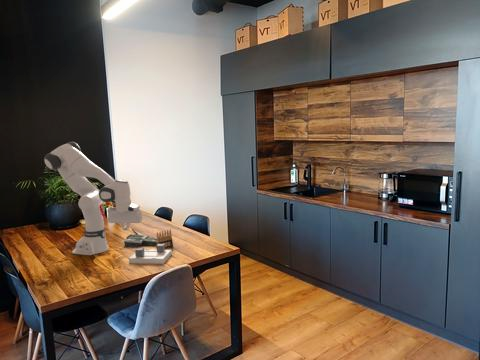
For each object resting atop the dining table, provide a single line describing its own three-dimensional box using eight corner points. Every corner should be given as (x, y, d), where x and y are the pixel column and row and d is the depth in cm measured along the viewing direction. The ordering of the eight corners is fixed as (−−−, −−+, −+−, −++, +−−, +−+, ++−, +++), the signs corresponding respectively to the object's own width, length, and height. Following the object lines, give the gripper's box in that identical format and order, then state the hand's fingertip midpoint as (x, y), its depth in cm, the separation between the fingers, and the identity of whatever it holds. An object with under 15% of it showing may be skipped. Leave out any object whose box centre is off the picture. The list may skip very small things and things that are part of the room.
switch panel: (129, 262, 219) (128, 257, 218) (139, 253, 233) (139, 249, 233) (163, 263, 215) (163, 258, 215) (172, 254, 230) (171, 249, 230)
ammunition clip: (157, 250, 238) (156, 232, 236) (156, 249, 240) (155, 231, 238) (173, 246, 244) (171, 229, 242) (172, 246, 246) (170, 228, 244)
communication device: (157, 248, 245) (156, 235, 243) (123, 246, 249) (122, 234, 247) (164, 241, 256) (163, 229, 255) (131, 240, 261) (130, 228, 259)
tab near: (135, 256, 219) (135, 250, 219) (138, 254, 223) (137, 247, 222) (142, 256, 219) (141, 250, 218) (144, 254, 222) (144, 248, 222)
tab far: (156, 251, 225) (156, 245, 225) (159, 249, 229) (158, 243, 228) (163, 252, 225) (162, 245, 224) (165, 250, 228) (164, 243, 228)
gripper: (104, 208, 216) (106, 231, 218) (137, 208, 212) (139, 231, 215) (109, 206, 222) (112, 228, 224) (142, 205, 219) (144, 228, 221)
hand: (125, 230), depth 219 cm, fingers closed
